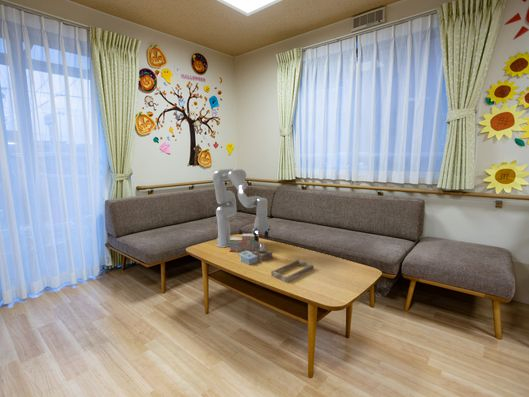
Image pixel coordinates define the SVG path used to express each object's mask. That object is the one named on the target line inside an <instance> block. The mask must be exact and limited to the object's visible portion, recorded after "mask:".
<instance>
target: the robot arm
mask: <svg viewBox="0 0 529 397" xmlns="http://www.w3.org/2000/svg"><path fill="white" fill-rule="evenodd" d="M246 179H247V172H246V171H245V170H244V169H241V168H239V169H238V168H228V169H227V168H226V169H224V168H223V169H218V170H216V171H214V173H213V175H212V182H213V185H214V192H215V199H216V202H217V204H218V205H220V206H218V207H217V208H216V210H215V215H216V220H217V238H216V241H217V243H216V247H220V248H227V247H229V248H230V239H231V223H230V221H229V217H234V216H235V215H236V214H237V211H238V208H237V207H238V206H237V201H236V200H237V199H238V200H239V202H240V203H241V205H242V207H244V208H246V209H251V208H256V217H255V219H254V224H253V229H251V233H253V234H254V240H255V241H258V236H257V235H258V234H259V235H260V233H264V235H263V236H264V238H265V239H269V233H270V230H271V227H272V226H271V225H270V224H269V218H268V215H269V214H268V199H267V198H266V197H261V196H258V195H253V196H247V194H246V193H245V190H246V189H247V188H248V186H249V185H248V182H247V181H246ZM224 181H230V182H231V183H232V185H233V187H235V189H236V190H237V199H236V196H235V193H234V192H233V191H231V190H227V186H226V184H225V182H224Z"/></svg>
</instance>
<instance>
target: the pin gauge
mask: <svg viewBox="0 0 529 397" xmlns="http://www.w3.org/2000/svg"><path fill="white" fill-rule="evenodd" d="M264 249H265V243H264V242H262V243H261V242H259V250H260V253H261V254H263V253H264Z"/></svg>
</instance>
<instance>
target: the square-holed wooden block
mask: <svg viewBox="0 0 529 397" xmlns="http://www.w3.org/2000/svg"><path fill="white" fill-rule="evenodd" d="M252 254H254V255H257V256H258V261H261V262H264V261H266V260H267V261H268V260H269V259H272V258H273V251H270V250H268V249H265V248H264V253H263V254H261V253H260V249H259V250H257V251H254V252H252Z"/></svg>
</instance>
